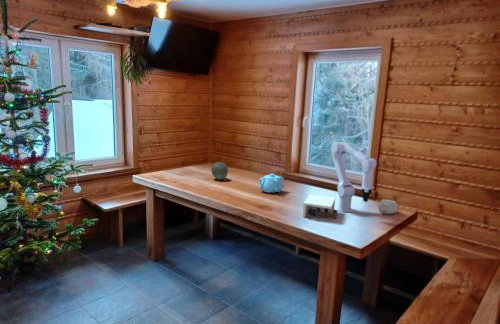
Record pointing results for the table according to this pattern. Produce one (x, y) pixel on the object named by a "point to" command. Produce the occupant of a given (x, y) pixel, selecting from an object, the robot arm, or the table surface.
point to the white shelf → (317, 203)
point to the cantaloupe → (219, 170)
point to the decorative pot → (271, 183)
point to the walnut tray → (326, 212)
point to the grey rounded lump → (388, 207)
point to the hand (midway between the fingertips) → (365, 201)
